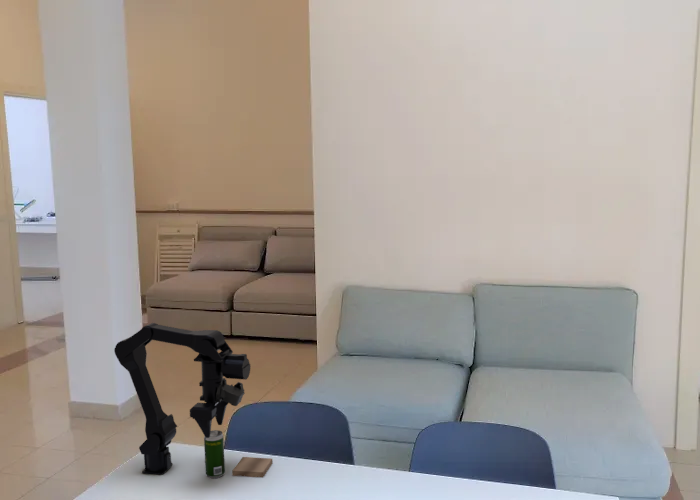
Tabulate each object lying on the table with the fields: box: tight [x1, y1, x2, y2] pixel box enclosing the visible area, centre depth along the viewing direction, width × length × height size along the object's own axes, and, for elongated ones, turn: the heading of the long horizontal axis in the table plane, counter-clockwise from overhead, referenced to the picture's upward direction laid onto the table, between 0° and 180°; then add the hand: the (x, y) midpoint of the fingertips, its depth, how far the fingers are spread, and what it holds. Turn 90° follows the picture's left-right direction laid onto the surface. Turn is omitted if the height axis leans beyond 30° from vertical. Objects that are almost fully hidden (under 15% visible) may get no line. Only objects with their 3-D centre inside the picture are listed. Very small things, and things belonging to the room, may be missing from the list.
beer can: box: [203, 429, 226, 479], centre depth 180 cm, size 5×5×12 cm
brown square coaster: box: [231, 456, 273, 479], centre depth 184 cm, size 9×9×2 cm
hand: (214, 431), depth 180 cm, fingers open, 9 cm apart
